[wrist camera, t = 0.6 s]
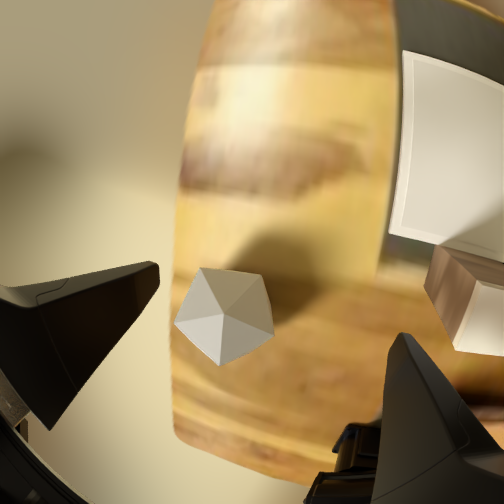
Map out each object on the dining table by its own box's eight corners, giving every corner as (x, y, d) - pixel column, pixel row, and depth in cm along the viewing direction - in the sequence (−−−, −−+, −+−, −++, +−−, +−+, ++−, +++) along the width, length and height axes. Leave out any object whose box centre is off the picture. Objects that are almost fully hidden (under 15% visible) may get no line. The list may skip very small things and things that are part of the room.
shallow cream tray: (524, 267, 15) (529, 270, 14) (388, 231, 20) (389, 233, 19) (538, 109, 10) (543, 108, 10) (402, 53, 15) (403, 49, 15)
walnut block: (482, 299, 18) (527, 358, 9) (423, 286, 20) (455, 350, 11) (495, 258, 17) (552, 302, 8) (435, 242, 19) (482, 285, 10)
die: (194, 288, 30) (177, 371, 23) (187, 234, 23) (159, 339, 17) (267, 297, 30) (263, 382, 24) (282, 246, 23) (280, 354, 17)
